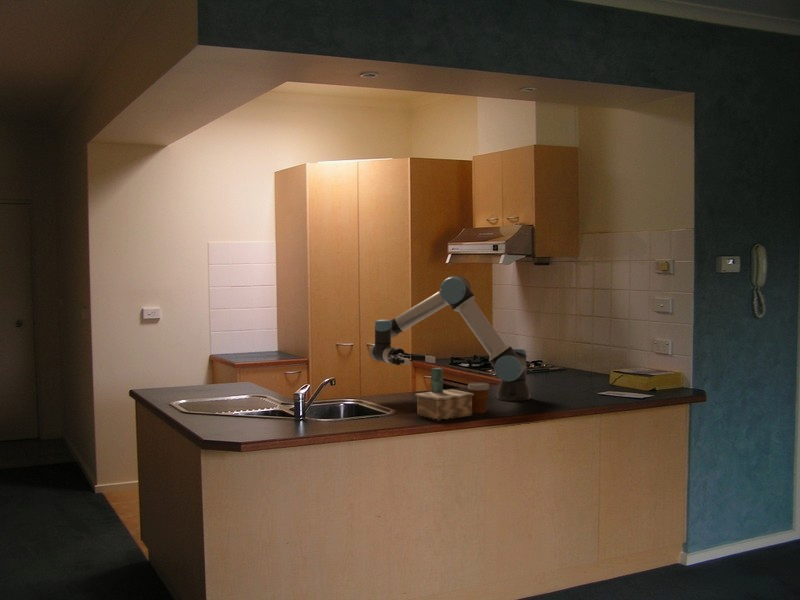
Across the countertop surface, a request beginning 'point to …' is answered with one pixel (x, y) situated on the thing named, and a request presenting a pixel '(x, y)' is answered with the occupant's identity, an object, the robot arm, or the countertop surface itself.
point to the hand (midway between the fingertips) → (422, 361)
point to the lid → (441, 388)
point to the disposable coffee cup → (479, 396)
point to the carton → (444, 407)
